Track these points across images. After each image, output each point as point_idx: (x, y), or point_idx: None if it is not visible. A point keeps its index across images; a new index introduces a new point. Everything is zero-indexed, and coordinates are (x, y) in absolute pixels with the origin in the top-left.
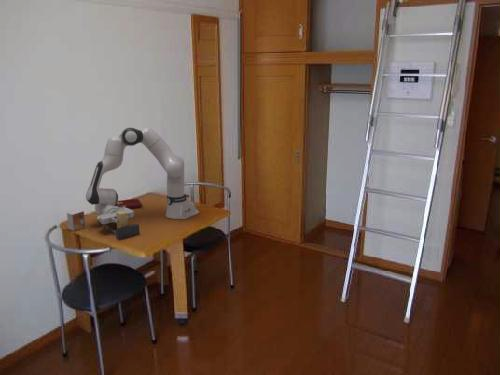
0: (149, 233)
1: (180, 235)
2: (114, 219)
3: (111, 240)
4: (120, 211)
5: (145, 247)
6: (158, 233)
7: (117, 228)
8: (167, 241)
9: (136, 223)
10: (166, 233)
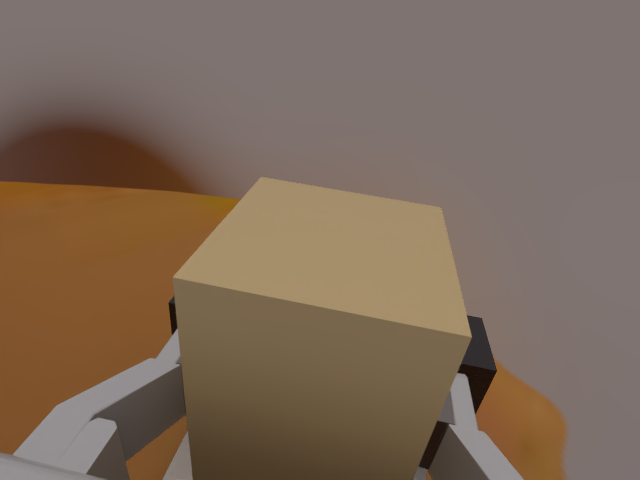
0: (145, 306)
1: (110, 187)
2: (497, 454)
3: (524, 469)
4: (296, 294)
5: None
6: (119, 264)
7: (471, 363)
8: (223, 197)
9: (174, 299)
10: (100, 234)
